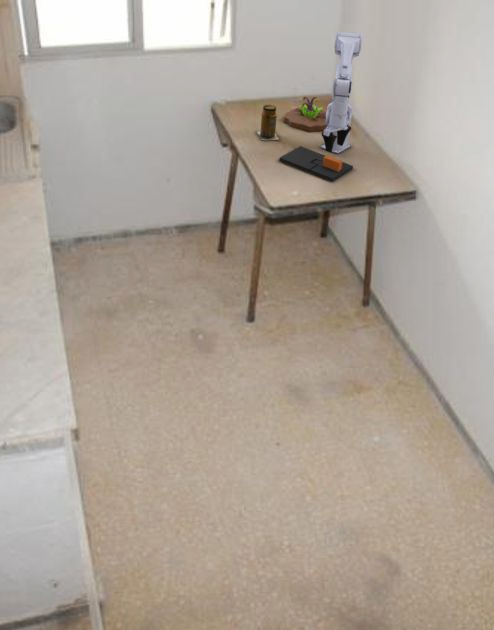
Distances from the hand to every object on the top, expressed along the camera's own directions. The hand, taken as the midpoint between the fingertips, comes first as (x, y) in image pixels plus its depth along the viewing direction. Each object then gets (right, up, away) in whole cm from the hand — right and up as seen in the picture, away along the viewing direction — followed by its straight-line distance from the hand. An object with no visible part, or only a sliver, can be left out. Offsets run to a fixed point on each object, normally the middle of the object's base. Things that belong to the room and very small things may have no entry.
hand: (334, 148), depth 266 cm
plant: (-5, +21, +41) cm, 47 cm away
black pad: (-10, -2, +12) cm, 16 cm away
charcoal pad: (-1, -7, +6) cm, 10 cm away
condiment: (-24, +11, +28) cm, 38 cm away
